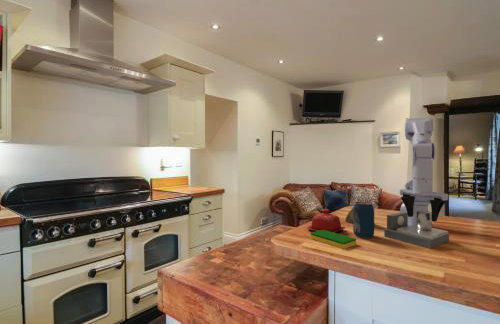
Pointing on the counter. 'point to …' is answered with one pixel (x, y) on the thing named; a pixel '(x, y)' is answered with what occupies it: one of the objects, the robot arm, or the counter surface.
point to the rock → (351, 215)
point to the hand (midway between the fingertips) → (422, 218)
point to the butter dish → (326, 222)
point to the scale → (402, 220)
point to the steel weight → (424, 220)
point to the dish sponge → (333, 239)
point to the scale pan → (422, 232)
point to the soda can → (363, 219)
